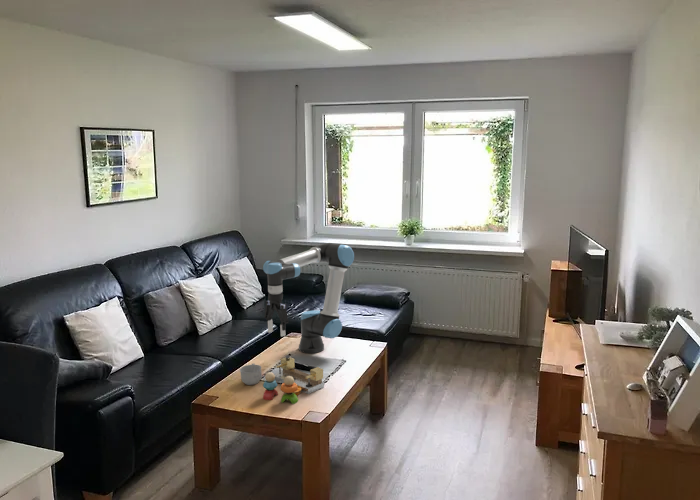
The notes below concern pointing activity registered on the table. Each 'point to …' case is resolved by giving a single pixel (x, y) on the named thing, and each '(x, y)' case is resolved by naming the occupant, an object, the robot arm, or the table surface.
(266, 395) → the stacking toy figures
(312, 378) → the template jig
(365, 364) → the table surface
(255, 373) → the teacup
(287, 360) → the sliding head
